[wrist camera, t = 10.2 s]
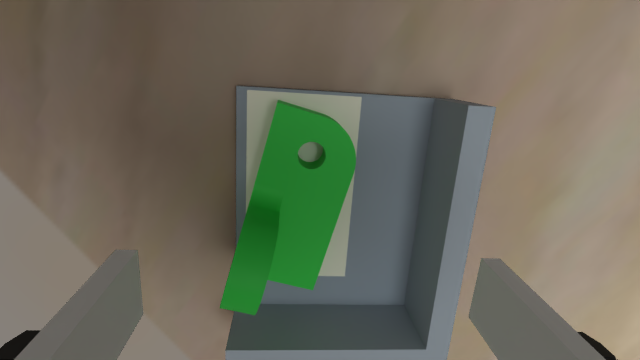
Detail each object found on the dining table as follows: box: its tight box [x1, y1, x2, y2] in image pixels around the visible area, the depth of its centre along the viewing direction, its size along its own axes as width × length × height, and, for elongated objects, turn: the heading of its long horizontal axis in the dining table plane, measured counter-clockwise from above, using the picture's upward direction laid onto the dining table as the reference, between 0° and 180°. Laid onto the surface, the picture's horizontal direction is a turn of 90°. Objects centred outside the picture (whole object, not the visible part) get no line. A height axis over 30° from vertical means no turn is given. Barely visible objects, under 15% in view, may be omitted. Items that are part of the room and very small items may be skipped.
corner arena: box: [226, 86, 496, 360], centre depth 26 cm, size 18×15×6 cm
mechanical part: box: [220, 100, 356, 315], centre depth 23 cm, size 12×6×8 cm, turn 162°
